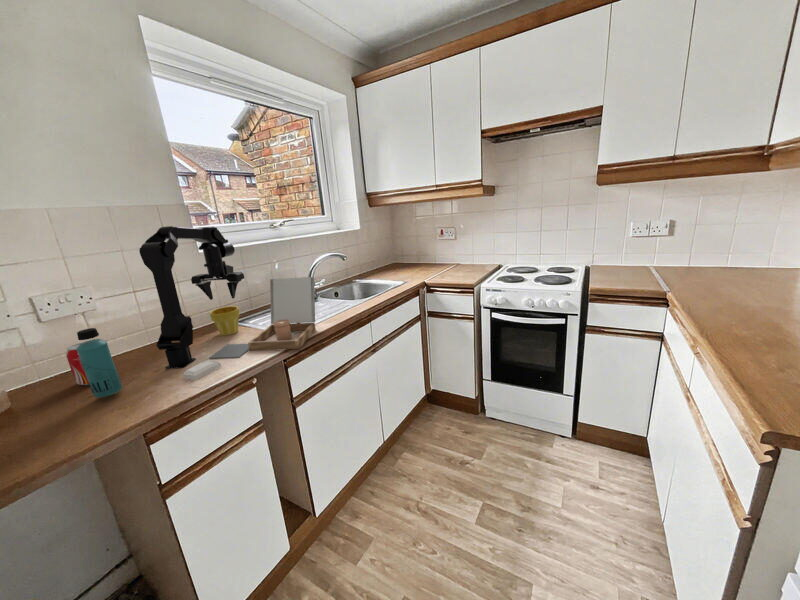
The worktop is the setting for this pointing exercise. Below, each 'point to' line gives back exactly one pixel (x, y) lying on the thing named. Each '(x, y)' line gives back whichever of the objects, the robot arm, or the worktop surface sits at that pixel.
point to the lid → (293, 299)
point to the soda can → (76, 365)
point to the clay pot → (282, 329)
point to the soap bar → (201, 369)
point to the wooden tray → (260, 344)
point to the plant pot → (226, 319)
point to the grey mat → (231, 351)
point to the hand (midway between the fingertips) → (222, 298)
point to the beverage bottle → (98, 364)
